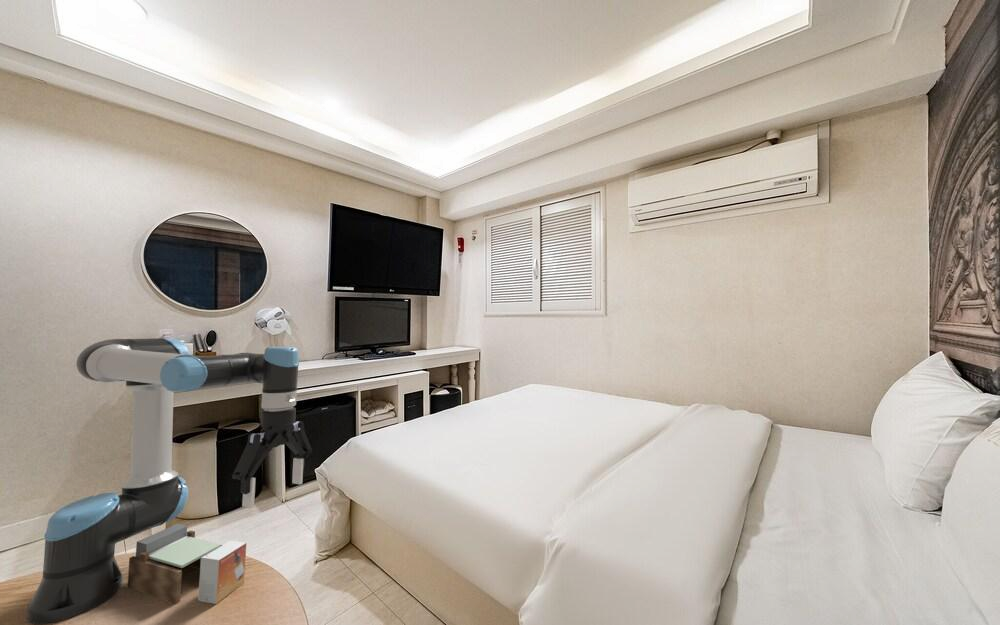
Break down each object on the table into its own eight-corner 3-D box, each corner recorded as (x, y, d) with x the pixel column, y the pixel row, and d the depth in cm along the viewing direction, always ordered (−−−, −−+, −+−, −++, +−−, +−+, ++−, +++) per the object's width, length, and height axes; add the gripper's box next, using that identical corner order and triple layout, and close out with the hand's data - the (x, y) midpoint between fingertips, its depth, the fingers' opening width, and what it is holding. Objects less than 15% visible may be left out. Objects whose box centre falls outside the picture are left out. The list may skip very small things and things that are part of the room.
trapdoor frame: (127, 587, 93) (129, 550, 94) (178, 560, 104) (180, 527, 105) (176, 603, 88) (178, 564, 88) (224, 573, 99) (226, 539, 99)
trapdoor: (135, 565, 94) (136, 541, 95) (176, 545, 103) (177, 523, 104) (181, 579, 89) (182, 554, 89) (220, 556, 98) (221, 534, 98)
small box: (215, 605, 87) (218, 560, 88) (197, 601, 88) (199, 557, 89) (245, 583, 95) (247, 542, 96) (227, 579, 96) (230, 539, 97)
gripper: (241, 420, 77) (235, 521, 76) (328, 400, 101) (324, 477, 100) (216, 417, 80) (210, 515, 78) (307, 398, 103) (303, 473, 102)
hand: (274, 494), depth 89 cm, fingers open, 13 cm apart
